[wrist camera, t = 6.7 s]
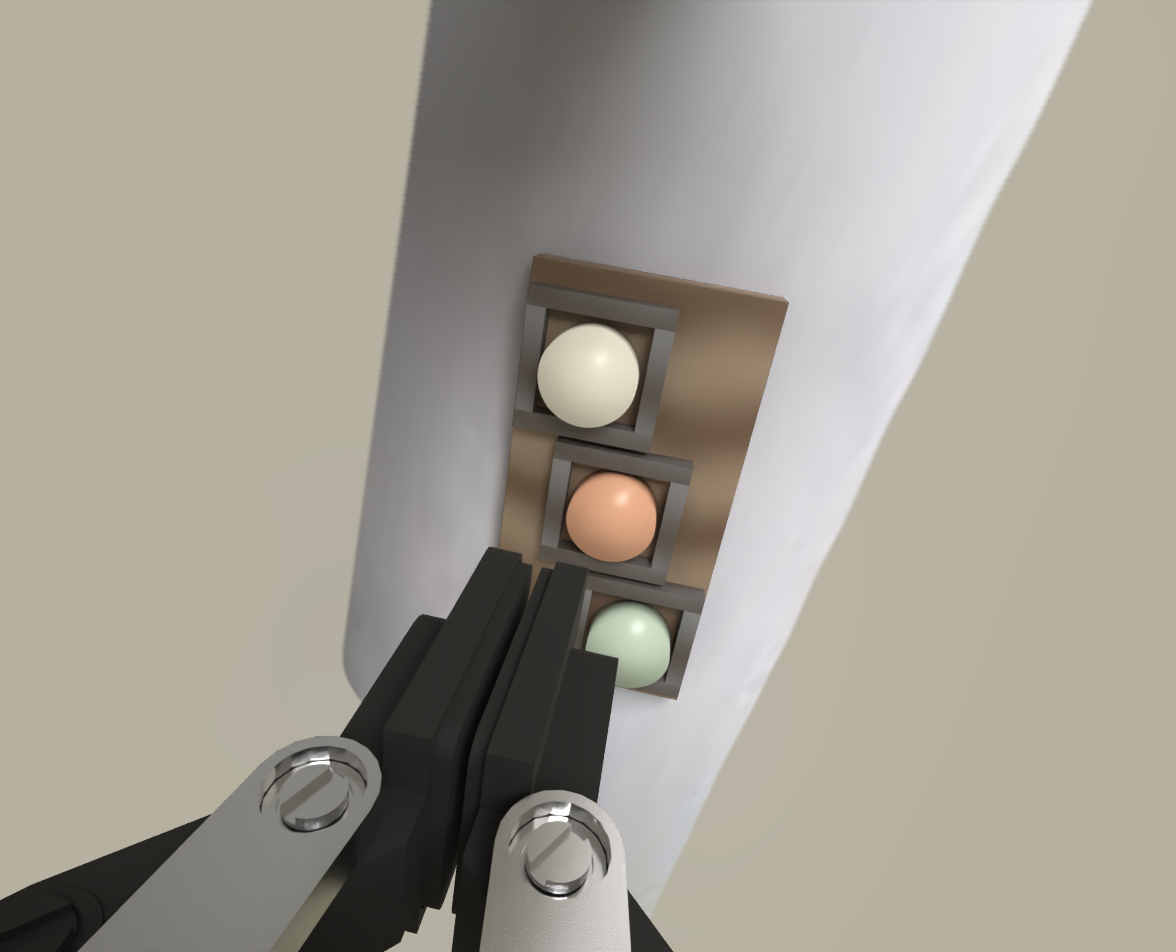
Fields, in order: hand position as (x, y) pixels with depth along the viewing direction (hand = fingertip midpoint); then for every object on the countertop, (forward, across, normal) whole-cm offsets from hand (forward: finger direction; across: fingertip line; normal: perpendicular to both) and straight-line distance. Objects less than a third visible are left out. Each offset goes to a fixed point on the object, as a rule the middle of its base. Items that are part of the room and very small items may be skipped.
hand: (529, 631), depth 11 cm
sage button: (+24, -3, +18) cm, 30 cm away
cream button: (+24, +2, +2) cm, 24 cm away
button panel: (+27, 0, +10) cm, 29 cm away
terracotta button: (+25, -1, +10) cm, 27 cm away
